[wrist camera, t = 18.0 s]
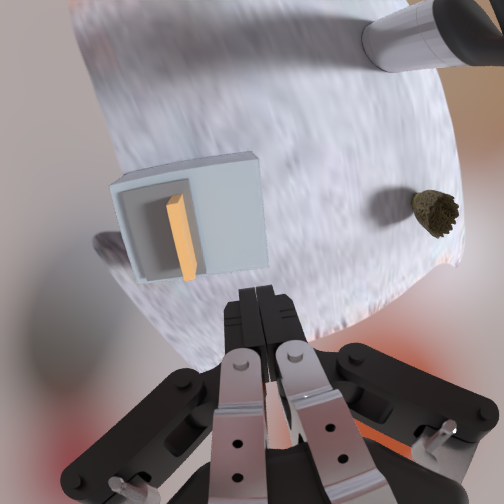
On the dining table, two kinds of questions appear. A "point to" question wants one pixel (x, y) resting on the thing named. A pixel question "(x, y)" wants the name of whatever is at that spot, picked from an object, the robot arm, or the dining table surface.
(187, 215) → the lid
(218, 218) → the housing
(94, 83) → the dining table surface
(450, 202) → the cup
